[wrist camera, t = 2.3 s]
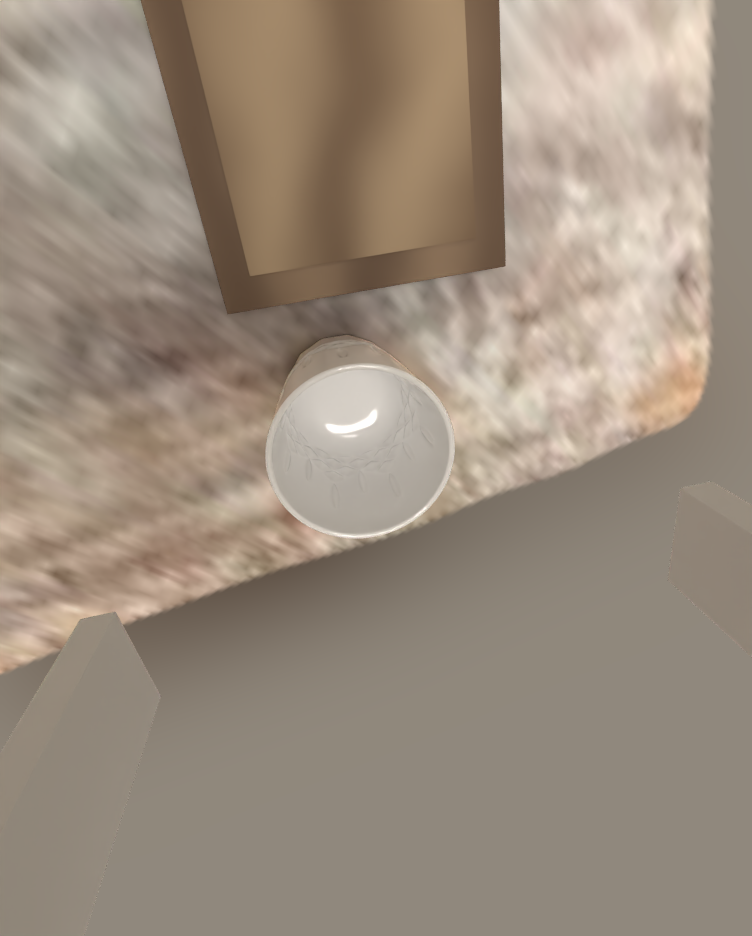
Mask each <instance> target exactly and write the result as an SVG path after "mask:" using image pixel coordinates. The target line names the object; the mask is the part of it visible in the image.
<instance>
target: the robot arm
mask: <svg viewBox="0 0 752 936" xmlns="http://www.w3.org/2000/svg"><path fill="white" fill-rule="evenodd" d="M668 581H669V582H670V583H671V584H672V585H674V586H675V587H676V588H677V589H678V590H679V591H680V592H681V593H682V594H683V595H684V596H686V597H687V598H688V599H689V600H690V601H691V602H692V603H693V604H694V605H695V606H697V608H699V609H700V610H701V611H702V612H703V613H704V614H705V615H706V616H707V617H708V618H709V619H710V620H712V621H713V622H714V623H715V624H716V625H717V626H718V627H719V628H720V629H721V630H723V632H725V633H726V634H727V635H728V636H729V637H730V638H731V639H732V640H733V641H734V642H735V643H736V644H738V645H739V646H740V647H741V648H742V649H743V650H744V651H746V653H747V654H748V655H750V656H751V657H752V505H751V504H750V503H748V502H746V501H744V500H743V499H741V498H739V497H737V496H736V495H734V494H732V493H731V492H729V491H727V490H725V489H724V488H722V487H720V486H719V485H717V484H715V483H713V482H711V481H710V482H705V483H701V484H697V485H692V486H687V487H682V488H680V493H679V501H678V508H677V515H676V523H675V530H674V537H673V545H672V552H671V559H670V567H669V574H668ZM160 697H161V696H160V694H159V692H158V690H157V688H156V686H155V684H154V683H153V681H152V679H151V677H150V675H149V673H148V672H147V670H146V668H145V666H144V664H143V662H142V660H141V658H140V656H139V655H138V653H137V651H136V649H135V647H134V645H133V644H132V642H131V640H130V638H129V636H128V634H127V632H126V630H125V629H124V627H123V625H122V623H121V621H120V619H119V617H118V615H117V614H116V612H112V613H107V614H103V615H98V616H93V617H89V618H84V619H80V621H79V622H78V624H77V626H76V627H75V629H74V631H73V632H72V634H71V636H70V637H69V639H68V641H67V642H66V644H65V646H64V647H63V649H62V651H61V652H60V654H59V656H58V657H57V659H56V661H55V662H54V664H53V666H52V667H51V669H50V671H49V672H48V674H47V676H46V677H45V679H44V680H43V682H42V684H41V685H40V687H39V689H38V690H37V692H36V694H35V696H34V697H33V699H32V700H31V702H30V704H29V706H28V707H27V709H26V710H25V712H24V714H23V716H22V717H21V719H20V720H19V722H18V724H17V725H16V727H15V729H14V730H13V732H12V734H11V735H10V737H9V739H8V740H7V742H6V744H5V745H4V747H3V749H2V750H1V752H0V936H84V935H85V931H86V928H87V925H88V922H89V919H90V915H91V913H92V910H93V906H94V903H95V900H96V897H97V894H98V891H99V887H100V885H101V881H102V878H103V875H104V872H105V869H106V866H107V863H108V859H109V856H110V853H111V850H112V847H113V844H114V841H115V838H116V835H117V831H118V828H119V825H120V822H121V819H122V816H123V813H124V810H125V806H126V803H127V800H128V797H129V794H130V791H131V788H132V785H133V782H134V778H135V775H136V772H137V769H138V766H139V763H140V760H141V757H142V753H143V750H144V747H145V744H146V741H147V737H148V735H149V732H150V728H151V725H152V722H153V719H154V716H155V713H156V710H157V706H158V703H159V700H160Z"/></svg>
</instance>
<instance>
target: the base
mask: <svg viewBox="0 0 752 936" xmlns="http://www.w3.org/2000/svg"><path fill="white" fill-rule="evenodd" d="M141 3H142V6H143V10H144V14H145V17H146V21H147V25H148V28H149V32H150V35H151V39H152V43H153V46H154V50H155V53H156V57H157V61H158V64H159V68H160V72H161V75H162V79H163V82H164V86H165V90H166V93H167V97H168V100H169V104H170V108H171V111H172V115H173V119H174V122H175V126H176V129H177V133H178V137H179V140H180V144H181V147H182V151H183V155H184V158H185V162H186V165H187V169H188V173H189V176H190V180H191V184H192V187H193V191H194V194H195V198H196V202H197V205H198V209H199V212H200V216H201V220H202V223H203V227H204V231H205V234H206V238H207V241H208V245H209V249H210V252H211V256H212V259H213V263H214V267H215V270H216V274H217V278H218V281H219V285H220V288H221V292H222V296H223V299H224V303H225V306H226V310H227V314H232V313H238V312H244V311H250V310H255V309H261V308H267V307H273V306H279V305H284V304H290V303H296V302H302V301H307V300H313V299H319V298H325V297H331V296H336V295H342V294H348V293H354V292H359V291H365V290H371V289H377V288H383V287H388V286H394V285H400V284H406V283H411V282H417V281H423V280H429V279H435V278H440V277H446V276H452V275H458V274H463V273H469V272H475V271H481V270H487V269H492V268H498V267H504V266H505V225H504V184H503V143H502V102H501V61H500V20H499V0H141Z"/></svg>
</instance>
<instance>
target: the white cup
mask: <svg viewBox="0 0 752 936" xmlns="http://www.w3.org/2000/svg"><path fill="white" fill-rule="evenodd" d="M454 454H455V439H454V432H453V427H452V424H451V421H450V418H449V415H448V413H447V411H446V409H445V407H444V406H443V404H442V402H441V401H440V400H439V398H438V397H437V396H436V395H435V393H434V392H433V391H432V390H431V389H430V388H429V387H428V386H427V385H425V384H424V383H423V382H422V381H421V380H420V379H419V378H417V377H416V376H415V375H414V374H413V373H412V372H411V371H410V370H409V369H408V368H406V366H404V365H403V364H402V363H401V362H399V361H398V360H397V359H395V358H394V357H393V356H391V355H390V354H389V353H387V352H386V351H384V350H383V349H381V348H379V347H377V346H376V345H375V344H374V343H373V342H370V341H367V340H364V339H361V338H357V337H354V336H351V335H342V336H336V337H330V338H324V339H321V340H319V341H318V342H316V343H315V344H314V345H312V346H311V347H309V348H308V349H307V350H305V351H304V352H303V353H301V354H300V355H299V357H298V359H297V361H296V363H295V365H294V367H293V369H292V370H291V372H290V373H289V375H288V377H287V379H286V381H285V384H284V386H283V389H282V391H281V394H280V396H279V399H278V403H277V406H276V409H275V413H274V416H273V419H272V422H271V426H270V429H269V432H268V436H267V440H266V448H265V462H266V469H267V474H268V478H269V481H270V483H271V486H272V488H273V490H274V492H275V494H276V496H277V497H278V499H279V501H280V502H281V503H282V505H283V506H284V507H285V508H286V509H287V510H288V511H289V512H290V513H291V514H292V515H293V516H294V517H295V518H296V519H298V520H299V521H300V522H302V523H303V524H305V525H307V526H308V527H310V528H312V529H314V530H317V531H319V532H322V533H324V534H328V535H331V536H336V537H342V538H370V537H376V536H380V535H384V534H387V533H390V532H393V531H395V530H398V529H400V528H402V527H404V526H406V525H408V524H409V523H411V522H412V521H414V520H415V519H417V518H418V517H419V516H421V515H422V514H423V513H424V512H425V511H426V510H427V509H428V508H429V507H430V506H431V505H432V504H433V503H434V502H435V501H436V499H437V498H438V497H439V495H440V494H441V492H442V490H443V489H444V487H445V485H446V483H447V481H448V479H449V476H450V473H451V470H452V466H453V461H454Z"/></svg>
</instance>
